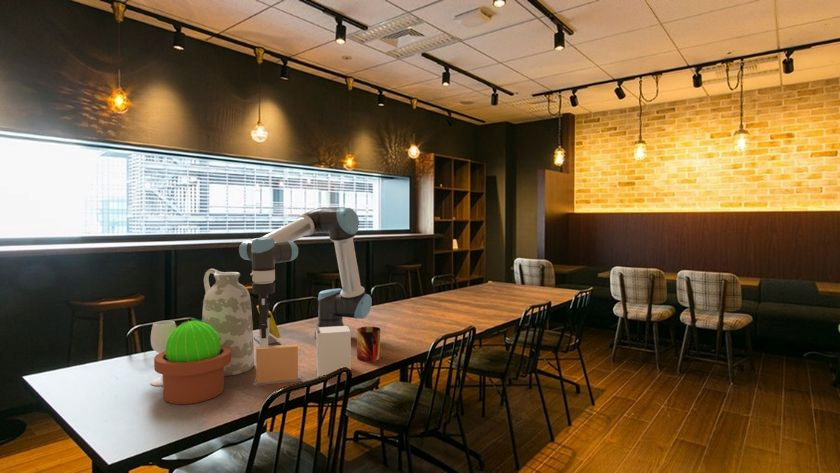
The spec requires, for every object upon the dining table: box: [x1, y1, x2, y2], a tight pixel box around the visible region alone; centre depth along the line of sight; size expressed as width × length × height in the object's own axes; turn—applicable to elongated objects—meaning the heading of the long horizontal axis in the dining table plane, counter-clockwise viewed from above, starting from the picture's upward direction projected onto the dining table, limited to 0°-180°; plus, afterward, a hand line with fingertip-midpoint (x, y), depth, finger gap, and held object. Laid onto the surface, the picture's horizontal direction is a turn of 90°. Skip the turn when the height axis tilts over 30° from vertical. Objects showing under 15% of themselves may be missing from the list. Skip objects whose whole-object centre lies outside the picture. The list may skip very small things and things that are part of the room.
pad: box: [253, 374, 302, 387], centre depth 160 cm, size 6×16×1 cm, turn 107°
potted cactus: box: [153, 318, 231, 405], centre depth 147 cm, size 22×22×25 cm
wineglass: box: [150, 320, 177, 387], centre depth 158 cm, size 9×9×21 cm
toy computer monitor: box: [253, 305, 281, 345], centre depth 211 cm, size 20×8×16 cm, turn 34°
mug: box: [356, 326, 381, 363], centre depth 186 cm, size 10×14×12 cm
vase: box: [201, 268, 255, 377], centre depth 172 cm, size 20×19×38 cm
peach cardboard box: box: [255, 343, 299, 383], centre depth 160 cm, size 3×14×12 cm, turn 107°
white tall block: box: [315, 325, 352, 378], centre depth 170 cm, size 9×12×17 cm
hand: (264, 341), depth 159 cm, fingers open, 13 cm apart
